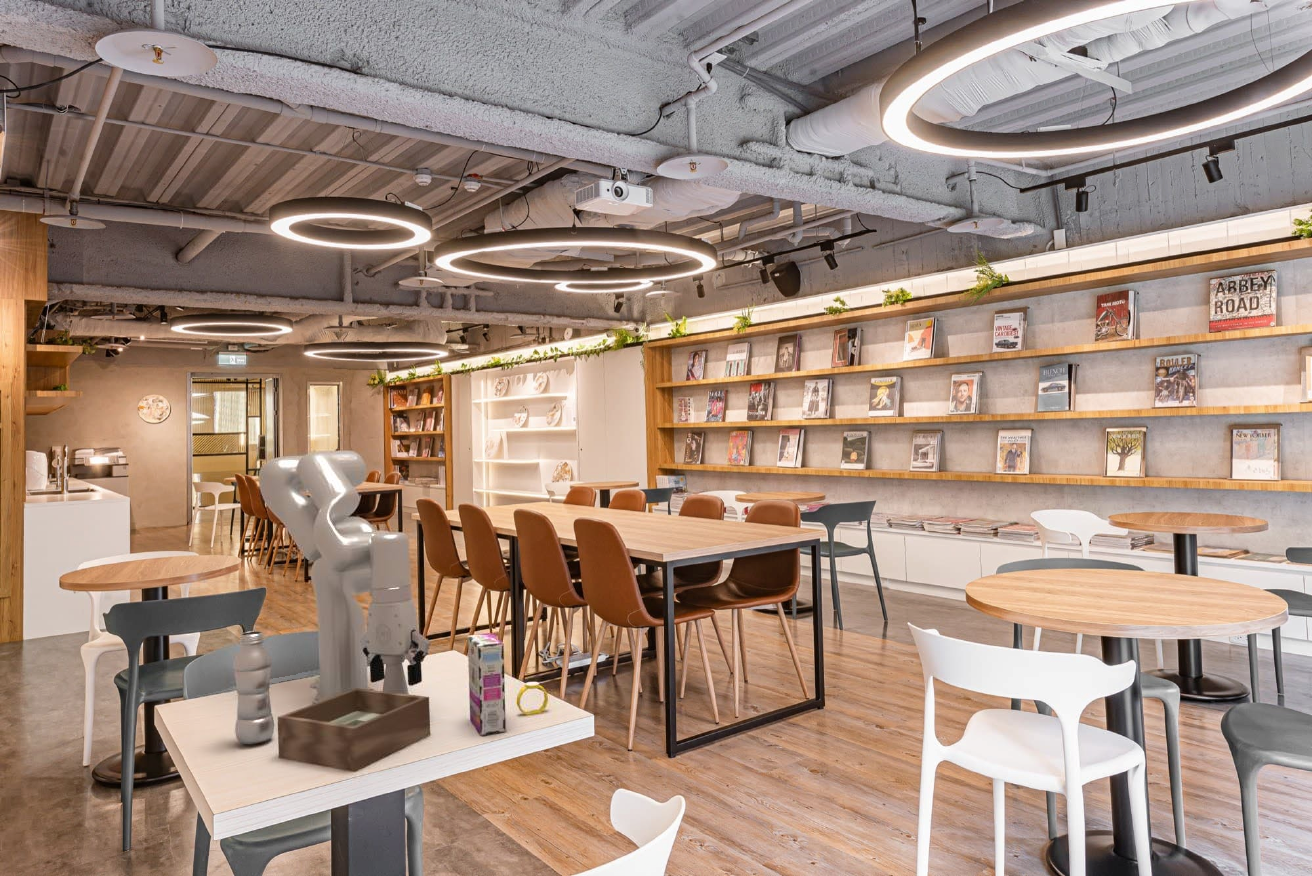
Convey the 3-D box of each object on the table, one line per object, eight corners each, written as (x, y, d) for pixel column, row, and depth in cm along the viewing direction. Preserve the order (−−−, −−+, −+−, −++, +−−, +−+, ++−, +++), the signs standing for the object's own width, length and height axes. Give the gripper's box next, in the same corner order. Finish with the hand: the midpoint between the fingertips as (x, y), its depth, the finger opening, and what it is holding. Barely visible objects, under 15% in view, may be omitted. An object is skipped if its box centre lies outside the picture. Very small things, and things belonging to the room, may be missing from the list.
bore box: (278, 757, 143) (277, 717, 143) (357, 724, 159) (356, 688, 159) (355, 771, 135) (354, 728, 135) (430, 735, 151) (428, 697, 151)
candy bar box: (508, 732, 151) (504, 642, 152) (480, 737, 149) (477, 646, 150) (494, 715, 162) (491, 631, 162) (469, 719, 160) (466, 634, 160)
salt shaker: (401, 722, 159) (399, 655, 160) (374, 721, 161) (372, 654, 161) (416, 712, 165) (413, 647, 165) (390, 712, 166) (387, 647, 166)
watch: (544, 710, 164) (545, 680, 165) (548, 714, 162) (549, 683, 162) (515, 713, 162) (516, 682, 162) (518, 717, 159) (519, 686, 160)
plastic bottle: (249, 751, 147) (245, 638, 147) (227, 745, 150) (224, 635, 151) (282, 739, 152) (278, 631, 153) (260, 734, 156) (257, 628, 156)
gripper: (345, 597, 163) (349, 684, 163) (412, 599, 156) (416, 690, 155) (373, 591, 170) (377, 674, 170) (438, 592, 163) (443, 680, 162)
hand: (396, 682), depth 163 cm, fingers open, 9 cm apart
